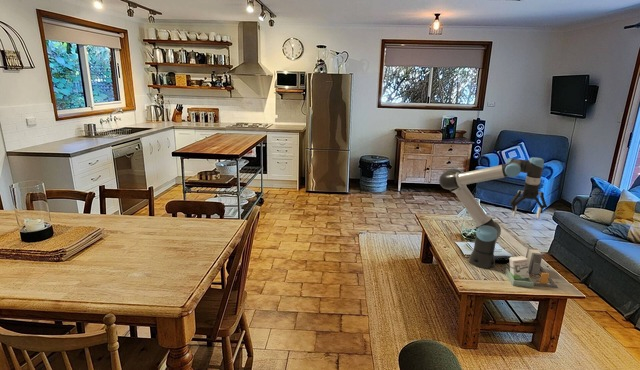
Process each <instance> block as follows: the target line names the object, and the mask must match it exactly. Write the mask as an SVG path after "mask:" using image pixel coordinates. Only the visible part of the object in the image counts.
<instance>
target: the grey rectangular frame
mask: <svg viewBox="0 0 640 370" xmlns="http://www.w3.org/2000/svg"><path fill="white" fill-rule="evenodd" d="M541 265H542V263H541V264H540V263H534V264H533V268H532V272H531V274H532V275H539V273H540V271H541V275H540V278H539V282H534V285H533V286H539V287H548V288H558V285H557V284H556V283H555V281H554V280H553V278H551V276H550V273H547V271H546V270H545V269H544V268H543V267H542V266H541ZM529 277H530V278H531V276H530V275H529ZM531 280H532V281H533V279H532V278H531ZM548 283H549V284H548Z"/></svg>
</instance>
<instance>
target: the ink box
mask: <svg viewBox="0 0 640 370" xmlns="http://www.w3.org/2000/svg"><path fill="white" fill-rule="evenodd" d="M508 260H509V268H510V273H511V275H512V277H513V278H514V279H521V278H529V276H530V274H529V273H530V272H529V269H528V259H527V258H526V255H518V256H511V257H509V259H508Z"/></svg>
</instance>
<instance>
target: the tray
mask: <svg viewBox="0 0 640 370" xmlns="http://www.w3.org/2000/svg"><path fill="white" fill-rule="evenodd" d="M504 273H505V275H506V277H507V278H508V280H509V281H510V284H511V286H513V287H514V286H515V287H523V288H534V286H535V285H534V283H535V282H534V281H533V279H532V278H530V277H531V276H530V277H529V278H521V279H514V278H513V277H512V275H511V273H510V267H509V268H507V267H506V268H505V271H504ZM531 279H532V280H531Z"/></svg>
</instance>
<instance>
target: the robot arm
mask: <svg viewBox="0 0 640 370" xmlns="http://www.w3.org/2000/svg"><path fill="white" fill-rule="evenodd" d="M544 164H545V160H544V159H543V158H541V157H532V156H531V157H530V158H529V159H528V160H527V159H518V158H511V157H507V159H506V161H505V163H504V164H499V165H495V166H490V167H489V166H488V167H486V168H480V169H475V170H471V171H465V172H462V170H460V169H458V168H454V167H453V168H450V169H448V170H446V171H445V172H443V173H442V174H441V175H440V176H439V180H438V181H439V186H441V188H443V189H445V190H449V191H450V193H454V194H455V195H456V197H457V199H458V200H459V201H460V203H461V204H462V206H463V207H464V208H465V210H466V212H467V213H468V214H469V216H470V218H471V219H472V220H473V222H474V223H475V226H474V227H475V229H476V232H475V240H474V246H473V250H472V252H471V253H470V255H469V258H468V262H469V263H470V264H471V265H473V266H475V267H477V268H481V269H493V268H494V267H495V266H496V265H495V264H496V261H495V260H496V258H495V248H496V243H497V241H498V239H499V238H500V236H501V232H502V228H501V225H500V224H499V222H496V221H494V218H492V217H490V216H488V215H487V214H486V212H485V211H484V209H483V207H481V205H480V203H479V202H478V201H477V199H476V197H475V196H474V195H473V194H472V192H471V191H470V189H469V188H468V187H467V185H470V184H471V185H472V184H475V183H481V182H485V181H491V180H498V179H503V178H508V177H510V178H515V177H518V176H519V175H520V174H521V173H525V174H526V176H525V183H524V187H523V190H520V189H517V192H516V194H515V195H514V196H513V197H512V199H511V200H510V201H509V204H510V205H511V206H512V207H511V211H512V216H513V217H516V214H517V208H518V206H517V205H518V204H520V203H521V202H522V201H524V200H526V199H527V200H529V199H530V200H535V202H536V203H537V205H538V207H537V211H536V218H537V219H540V217H541V214H542V213H543V209H545V208H548V205H547V202H546V199H545V197H544V196H545V195H544V194H545V193H544V192H543V191H540V190H539V188H540V184H541V179H542V174H543V170H544ZM537 196H539V198H540V200H539V199H538V197H537ZM540 201H541V202H540Z"/></svg>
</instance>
